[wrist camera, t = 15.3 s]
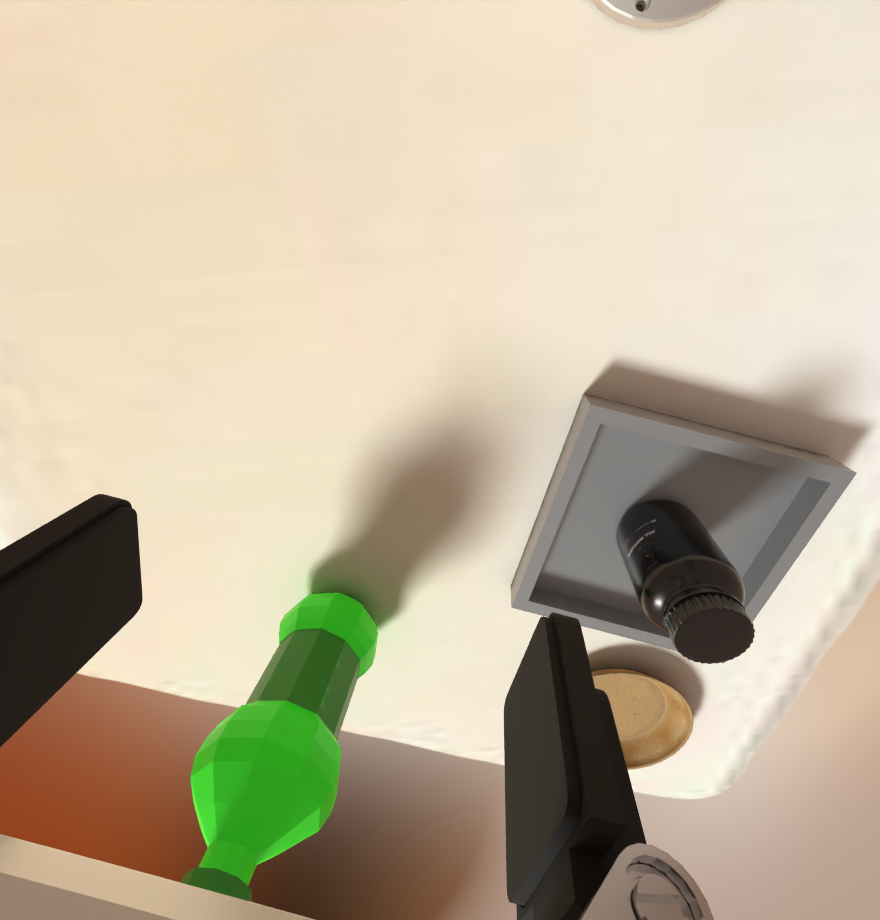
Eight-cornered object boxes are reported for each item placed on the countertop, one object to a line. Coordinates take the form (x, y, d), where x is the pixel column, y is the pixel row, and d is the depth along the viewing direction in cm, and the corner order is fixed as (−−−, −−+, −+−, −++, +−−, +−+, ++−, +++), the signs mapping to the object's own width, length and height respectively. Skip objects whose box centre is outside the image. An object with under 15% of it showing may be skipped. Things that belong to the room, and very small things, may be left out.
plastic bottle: (328, 658, 51) (194, 977, 28) (275, 589, 48) (75, 886, 25) (404, 635, 48) (323, 967, 26) (354, 559, 45) (209, 863, 22)
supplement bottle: (616, 497, 38) (663, 592, 27) (702, 495, 37) (787, 592, 26) (611, 564, 41) (652, 674, 30) (691, 563, 40) (764, 677, 29)
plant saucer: (700, 661, 46) (711, 683, 43) (665, 755, 52) (673, 779, 49) (552, 645, 47) (555, 665, 45) (535, 738, 53) (537, 761, 51)
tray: (583, 393, 36) (590, 404, 33) (829, 456, 36) (856, 472, 33) (510, 585, 44) (511, 607, 41) (709, 638, 44) (723, 663, 41)
